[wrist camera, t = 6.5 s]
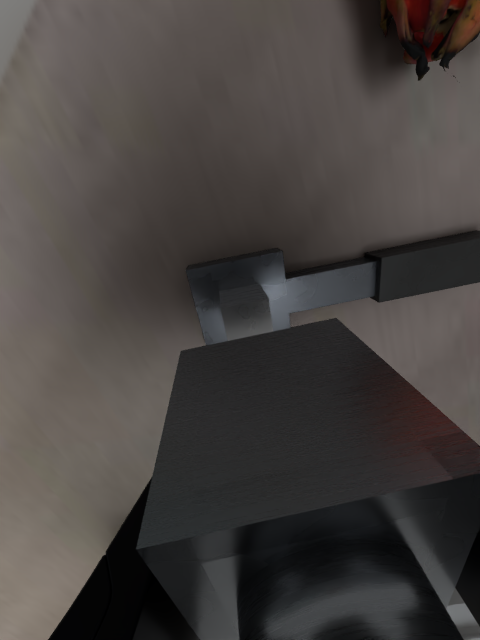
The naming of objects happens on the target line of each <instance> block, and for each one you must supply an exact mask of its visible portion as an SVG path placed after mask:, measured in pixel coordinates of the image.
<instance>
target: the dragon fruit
mask: <svg viewBox="0 0 480 640" xmlns="http://www.w3.org/2000/svg"><path fill="white" fill-rule="evenodd" d="M380 3H381V23H380V27H381V28H382V29H383V32H384V35H385V37H386V36H387V31H388V27H389V25H390V23H391V19H392V17H394V20H395V23H396V26H397V32H398V37H399V40H400V43H401V45H402V47H403V48H404V49H405V50H404V56H403V59H404V61H405V63H407V64H416V74H417V76H418V81H419V80H421V79H422V78H423V76H424V75H425V74H426V73H427V72H428V70H429V67H428V66H427V65H428V62H431V61H437V60H440V59H441V62H440V63H439V65H440V66H442V67H443V68H444V66H445V67H446V68H448V69H449V66H448V64H449V61H450V60H451V59H452V58H453V57H454V56H455V55H456V54H457V53H459V52H460V51H461V50H463V48H465V47H466V46H467V45H468V44H469V43H470V42H472V41H473V40H475V39H476V38H477V36H478V35H479V33H480V0H380ZM444 71H445V69H444ZM453 77H454V76H453ZM459 83H460V82H459Z"/></svg>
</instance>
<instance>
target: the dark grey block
mask: <svg viewBox="0 0 480 640" xmlns="http://www.w3.org/2000/svg"><path fill="white" fill-rule="evenodd" d="M479 528H480V446H479V445H478V444H477V443H476V442H475V441H473V440H472V439H471V438H470V437H469V436H468V435H467V434H466V433H465V432H463V431H462V430H461V429H460V428H459V427H458V426H457V425H456V424H454V423H453V422H452V421H451V420H450V419H449V418H448V417H447V416H445V415H444V414H443V413H442V412H441V411H440V410H439V409H438V408H437V407H435V406H434V405H433V404H432V403H431V402H430V401H429V400H428V399H426V398H425V397H424V396H423V395H422V394H421V393H420V392H419V391H417V390H416V389H415V388H414V387H413V386H412V385H411V384H410V383H409V382H407V381H406V380H405V379H404V378H403V377H402V376H401V375H400V374H398V373H397V372H396V371H395V370H394V369H393V368H392V367H391V366H389V365H388V364H387V363H386V362H385V361H384V360H383V359H382V358H381V357H379V356H378V355H377V354H376V353H375V352H374V351H373V350H372V349H370V348H369V347H368V346H367V345H366V344H365V343H364V342H363V341H361V340H360V339H359V338H358V337H357V336H356V335H355V334H354V333H353V332H351V331H350V330H349V329H348V328H347V327H346V326H345V325H344V324H342V323H341V322H340V321H339V320H338V319H337V318H333V319H329V320H324V321H319V322H315V323H310V324H305V325H300V326H296V327H291V328H286V329H282V330H277V331H272V332H268V333H263V334H258V335H253V336H249V337H244V338H239V339H235V340H230V341H225V342H220V343H216V344H211V345H206V346H202V347H197V348H192V349H188V350H183V351H181V352H180V357H179V361H178V366H177V370H176V375H175V379H174V383H173V388H172V392H171V397H170V401H169V406H168V410H167V414H166V419H165V423H164V428H163V432H162V436H161V441H160V445H159V450H158V454H157V459H156V463H155V467H154V472H153V476H152V481H151V485H150V490H149V494H148V498H147V503H146V507H145V512H144V516H143V521H142V525H141V529H140V534H139V538H138V543H137V547H136V550H137V552H138V553H139V555H140V556H141V557H142V559H143V560H144V562H145V563H146V564H147V566H148V567H149V569H150V570H151V571H152V573H153V574H154V576H155V577H156V578H157V580H158V581H159V583H160V584H161V585H162V587H163V588H164V590H165V591H166V592H167V594H168V595H169V597H170V598H171V599H172V601H173V602H174V604H175V605H176V606H177V608H178V609H179V611H180V612H181V613H182V615H183V616H184V618H185V619H186V621H187V622H188V623H189V625H190V626H191V628H192V629H193V630H194V632H195V633H196V635H197V636H198V637H199V639H200V640H464V639H463V638H462V636H461V634H460V632H459V631H458V629H457V627H456V625H455V624H454V622H453V620H452V619H451V617H450V615H449V613H448V612H447V610H446V608H447V606H448V604H449V601H450V599H451V596H452V594H453V591H454V589H455V586H456V584H457V582H458V579H459V577H460V574H461V572H462V569H463V567H464V564H465V562H466V560H467V557H468V555H469V552H470V550H471V547H472V545H473V542H474V540H475V538H476V535H477V533H478V530H479Z"/></svg>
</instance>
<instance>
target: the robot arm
mask: <svg viewBox="0 0 480 640" xmlns="http://www.w3.org/2000/svg"><path fill="white" fill-rule="evenodd" d="M151 481H152V478H151V479H150V481H149V483H148V484H147V486H146V487H145V489H144V491H143V492H142V494H141V495H140V497H139V499H138V500H137V502H136V504H135V505H134V507H133V508H132V510H131V512H130V513H129V515H128V516H127V518H126V520H125V521H124V523H123V525H122V526H121V528H120V529H119V531H118V533H117V534H116V536H115V537H114V539H113V541H112V542H111V544H110V545H109V547H108V549H107V550H106V555H104V556H103V557H102V558H101V560H100V561H99V563H98V565H97V566H96V568H95V569H94V571H93V573H92V574H91V576H90V577H89V579H88V581H87V582H86V584H85V585H84V587H83V588H82V590H81V591H80V593H79V595H78V596H77V598H76V599H75V601H74V602H73V604H72V605H71V607H70V608H69V610H68V611H67V613H66V614H65V616H64V617H63V619H62V620H61V622H60V623H59V624H58V626H57V627H56V629H55V630H54V632H53V633H52V635H51V636H50V638H49V639H48V640H200V639H199V637H198V636H197V635H196V633H195V632H194V630H193V629H192V628H191V626H190V625H189V623H188V622H187V621H186V619H185V618H184V616H183V615H182V613H181V612H180V611H179V609H178V608H177V606H176V605H175V604H174V602H173V601H172V599H171V598H170V597H169V595H168V594H167V592H166V591H165V590H164V588H163V587H162V585H161V584H160V583H159V581H158V580H157V578H156V577H155V576H154V574H153V573H152V571H151V570H150V569H149V567H148V566H147V564H146V563H145V562H144V560H143V559H142V557H141V556H140V555H139V553H138V552H137V550H136V547H137V543H138V538H139V534H140V529H141V525H142V521H143V516H144V512H145V507H146V503H147V498H148V494H149V490H150V485H151ZM455 588H456V590H457V592H458V593H459V595H460V596H461V598H462V600H463V601H464V603H465V604H466V606H467V608H468V609H469V611H470V612H471V614H472V615H473V617H474V619H475V620H476V622H477V623H478V625H479V627H480V528H479V530H478V533H477V535H476V538H475V540H474V542H473V545H472V547H471V550H470V552H469V555H468V557H467V560H466V562H465V564H464V567H463V569H462V572H461V574H460V577H459V579H458V582H457V584H456V586H455Z"/></svg>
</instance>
